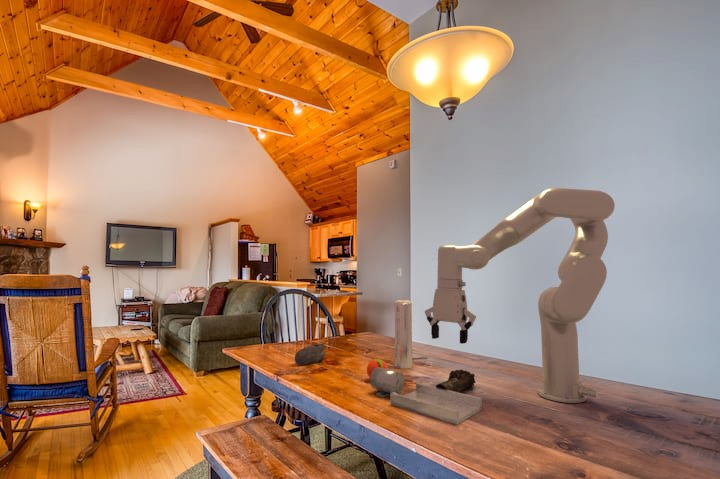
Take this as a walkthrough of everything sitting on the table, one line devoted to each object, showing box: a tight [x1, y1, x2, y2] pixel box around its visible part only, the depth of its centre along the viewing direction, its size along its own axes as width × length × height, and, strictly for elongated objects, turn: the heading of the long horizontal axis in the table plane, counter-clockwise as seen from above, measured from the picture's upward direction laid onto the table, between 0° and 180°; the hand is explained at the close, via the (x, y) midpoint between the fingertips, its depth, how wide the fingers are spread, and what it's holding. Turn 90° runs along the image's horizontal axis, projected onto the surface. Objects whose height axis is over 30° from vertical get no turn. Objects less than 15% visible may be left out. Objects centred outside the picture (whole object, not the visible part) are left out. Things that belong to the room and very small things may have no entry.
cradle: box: [389, 382, 483, 425], centre depth 102 cm, size 20×13×3 cm
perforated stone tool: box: [294, 343, 326, 366], centre depth 150 cm, size 15×5×7 cm, turn 135°
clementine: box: [366, 358, 388, 378], centre depth 126 cm, size 8×7×7 cm
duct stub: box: [369, 367, 406, 398], centre depth 113 cm, size 8×7×7 cm
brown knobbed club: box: [435, 369, 477, 393], centre depth 115 cm, size 18×7×6 cm, turn 136°
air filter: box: [394, 299, 413, 370], centre depth 145 cm, size 6×6×25 cm
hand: (448, 340), depth 117 cm, fingers open, 9 cm apart
